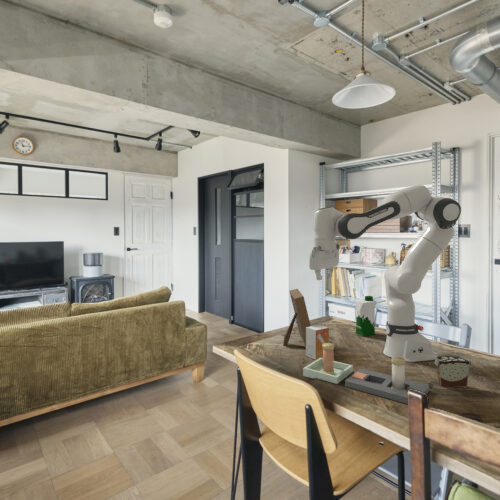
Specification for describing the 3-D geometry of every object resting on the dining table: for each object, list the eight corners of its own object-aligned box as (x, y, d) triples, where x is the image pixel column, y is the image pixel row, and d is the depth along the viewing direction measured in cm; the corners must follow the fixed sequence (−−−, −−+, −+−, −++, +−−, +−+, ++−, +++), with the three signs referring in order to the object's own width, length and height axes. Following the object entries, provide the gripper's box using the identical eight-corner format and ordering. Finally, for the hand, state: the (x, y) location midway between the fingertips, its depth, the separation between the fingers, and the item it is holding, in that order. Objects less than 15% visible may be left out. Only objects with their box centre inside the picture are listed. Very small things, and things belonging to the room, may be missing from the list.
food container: (460, 379, 130) (460, 353, 129) (471, 387, 124) (471, 359, 123) (427, 380, 130) (427, 353, 129) (436, 388, 123) (437, 360, 123)
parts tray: (303, 375, 135) (303, 368, 135) (320, 364, 146) (320, 357, 146) (337, 385, 126) (337, 377, 126) (352, 372, 137) (352, 365, 137)
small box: (315, 360, 151) (315, 330, 150) (305, 356, 156) (305, 327, 156) (329, 356, 155) (329, 327, 155) (318, 352, 161) (318, 324, 160)
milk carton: (377, 335, 185) (377, 297, 183) (362, 337, 182) (363, 298, 181) (367, 331, 193) (367, 294, 192) (352, 332, 190) (353, 295, 189)
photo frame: (308, 335, 187) (308, 288, 185) (315, 349, 165) (315, 296, 163) (280, 335, 187) (279, 288, 185) (284, 349, 165) (283, 296, 163)
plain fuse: (403, 388, 122) (403, 357, 121) (407, 394, 117) (407, 361, 117) (389, 388, 122) (389, 356, 122) (393, 393, 118) (393, 361, 118)
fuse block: (345, 387, 125) (345, 380, 124) (360, 374, 135) (360, 367, 135) (418, 408, 110) (418, 400, 109) (428, 392, 120) (429, 384, 120)
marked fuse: (332, 370, 138) (332, 342, 138) (335, 375, 134) (335, 346, 133) (321, 370, 138) (321, 343, 138) (323, 375, 134) (323, 346, 133)
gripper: (319, 247, 138) (319, 282, 139) (341, 245, 154) (341, 276, 155) (305, 246, 142) (305, 281, 143) (328, 244, 158) (328, 275, 159)
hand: (324, 278), depth 149 cm, fingers open, 8 cm apart
